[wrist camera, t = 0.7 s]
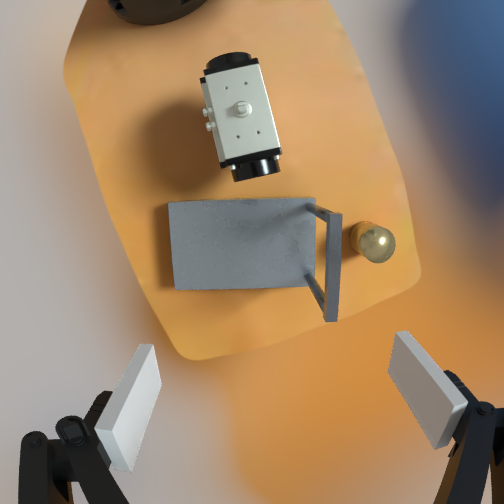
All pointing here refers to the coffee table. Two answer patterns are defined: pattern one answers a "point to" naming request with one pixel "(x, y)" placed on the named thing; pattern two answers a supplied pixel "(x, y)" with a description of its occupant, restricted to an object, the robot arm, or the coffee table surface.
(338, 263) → the dolly
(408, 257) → the coffee table surface
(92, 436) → the robot arm
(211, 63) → the pneumatic valve
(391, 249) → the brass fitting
